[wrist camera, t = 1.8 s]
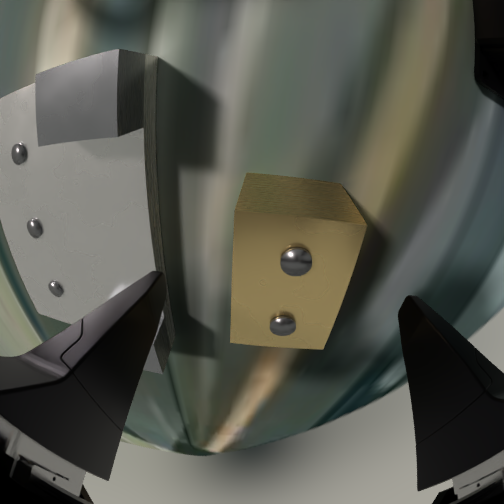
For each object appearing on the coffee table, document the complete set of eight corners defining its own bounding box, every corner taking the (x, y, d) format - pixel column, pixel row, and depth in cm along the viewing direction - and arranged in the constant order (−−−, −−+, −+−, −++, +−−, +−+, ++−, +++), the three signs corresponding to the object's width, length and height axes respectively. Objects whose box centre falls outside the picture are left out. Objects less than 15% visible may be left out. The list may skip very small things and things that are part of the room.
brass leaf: (339, 182, 11) (369, 228, 8) (314, 289, 14) (323, 353, 11) (246, 171, 11) (233, 213, 8) (240, 283, 14) (229, 346, 11)
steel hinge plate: (157, 56, 8) (118, 48, 6) (175, 334, 17) (162, 374, 14) (-4, 103, 9) (-41, 116, 6) (45, 303, 17) (26, 330, 15)
